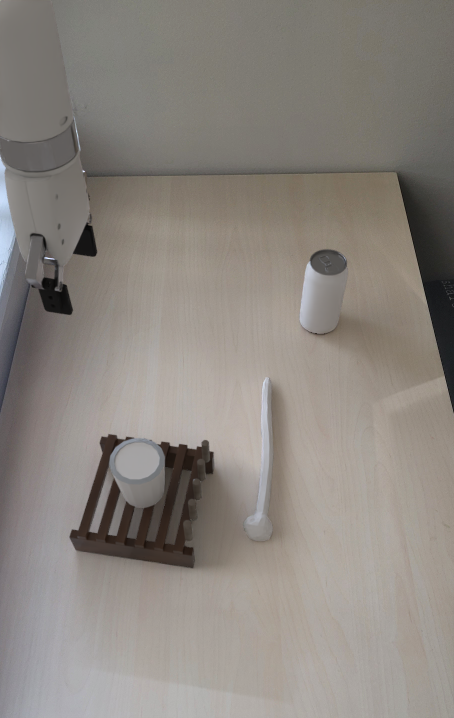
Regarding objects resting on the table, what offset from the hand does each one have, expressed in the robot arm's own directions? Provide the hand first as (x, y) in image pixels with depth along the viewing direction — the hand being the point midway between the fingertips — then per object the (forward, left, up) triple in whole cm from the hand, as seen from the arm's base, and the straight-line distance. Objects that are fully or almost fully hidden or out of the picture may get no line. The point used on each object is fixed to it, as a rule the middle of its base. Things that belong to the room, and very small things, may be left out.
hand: (72, 281), depth 75 cm
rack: (+10, -15, -25) cm, 31 cm away
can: (+30, +24, -25) cm, 46 cm away
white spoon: (+24, -4, -25) cm, 35 cm away
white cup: (+10, -15, -20) cm, 27 cm away
